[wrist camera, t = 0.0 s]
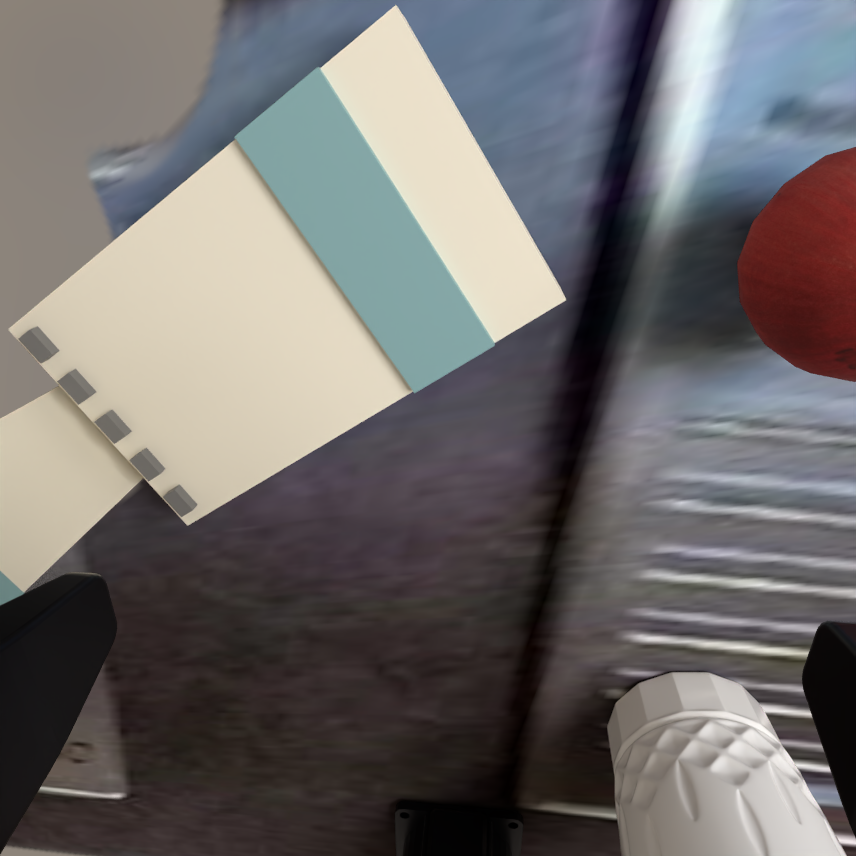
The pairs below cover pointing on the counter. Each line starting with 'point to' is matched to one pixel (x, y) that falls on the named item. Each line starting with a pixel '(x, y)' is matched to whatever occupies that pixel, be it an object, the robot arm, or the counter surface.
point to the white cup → (708, 775)
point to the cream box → (52, 485)
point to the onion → (806, 269)
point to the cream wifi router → (296, 280)
